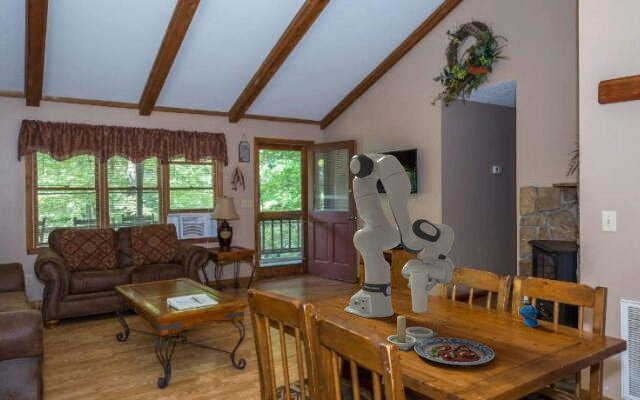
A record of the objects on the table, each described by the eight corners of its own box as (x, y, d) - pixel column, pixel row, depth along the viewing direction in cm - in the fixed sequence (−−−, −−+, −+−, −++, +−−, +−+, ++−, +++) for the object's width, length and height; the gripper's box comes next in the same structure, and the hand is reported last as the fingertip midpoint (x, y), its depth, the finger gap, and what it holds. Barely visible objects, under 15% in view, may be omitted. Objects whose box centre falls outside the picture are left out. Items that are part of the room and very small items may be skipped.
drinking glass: (429, 314, 173) (428, 273, 173) (410, 313, 174) (410, 273, 174) (428, 309, 180) (428, 270, 180) (410, 309, 181) (410, 270, 181)
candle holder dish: (381, 345, 167) (381, 317, 166) (414, 329, 185) (414, 305, 185) (406, 351, 160) (406, 322, 160) (437, 334, 179) (437, 309, 178)
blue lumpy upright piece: (529, 304, 197) (546, 304, 185) (531, 325, 195) (549, 327, 184) (512, 305, 196) (529, 305, 184) (515, 326, 194) (532, 328, 183)
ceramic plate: (489, 346, 166) (489, 338, 166) (500, 374, 141) (500, 364, 141) (415, 341, 172) (415, 333, 172) (413, 367, 147) (413, 357, 147)
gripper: (406, 252, 189) (392, 280, 182) (452, 257, 175) (439, 287, 168) (413, 262, 192) (399, 290, 186) (458, 267, 178) (445, 297, 171)
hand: (418, 288), depth 177 cm, fingers closed on drinking glass, 6 cm apart
